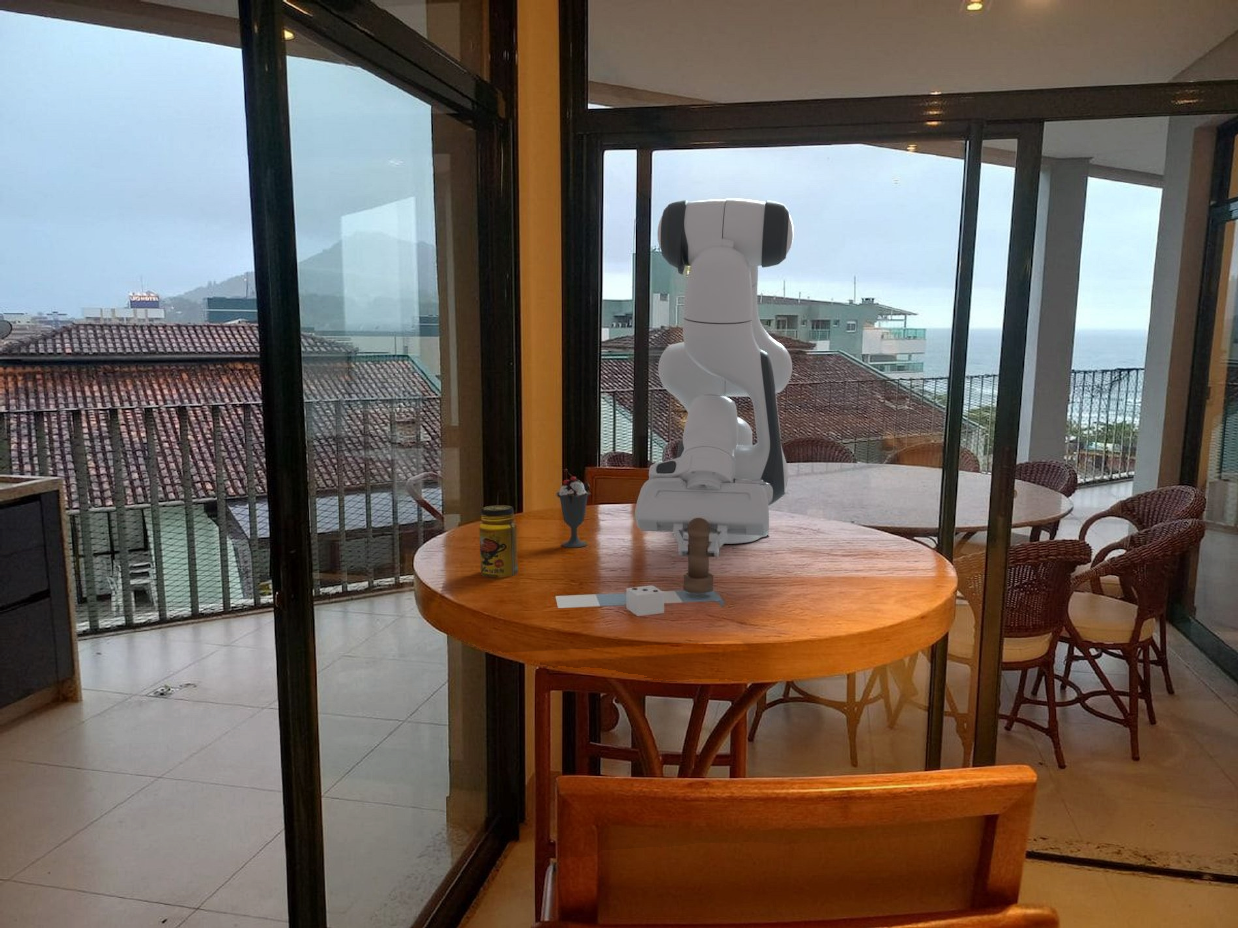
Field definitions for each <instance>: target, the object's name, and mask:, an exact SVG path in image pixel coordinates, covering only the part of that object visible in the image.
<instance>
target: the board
mask: <svg viewBox="0 0 1238 928" xmlns="http://www.w3.org/2000/svg"><path fill="white" fill-rule="evenodd" d="M662 591H663V590H662ZM663 592H664V604H675V603H676V604H677V603H678V604H679V603H701V602H702V603H703V602H717V603H718V604H719V606H721V608H723V607H724V600H723V598H722V597H721V596H720V595H719V594H718V592H716V591H715V590H714V588H713V591H711V592H707V593H691V592H687V591H685V590H684V589H683V590H682V589H681V590H666V591H663ZM555 601H556V605H557V609H569V608H570V609H572V608H573V609H574V608H592V607H593V608H594V607H595V608H596V607H613V606H614V607H615V606H617V607H618V606H626V592H621V593H619V592H618V593H598V594H597V593H595V594H592V593H591V594H576V595H575V594H573V595H572V594H571V595H555Z"/></svg>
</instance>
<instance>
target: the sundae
mask: <svg viewBox="0 0 1238 928" xmlns="http://www.w3.org/2000/svg"><path fill="white" fill-rule="evenodd" d="M563 471H564V472H565V480H563V485H562V486H561V487H560V488H559V491H557V492H556V496H557V498H559V500H560V505H561V506H560V507H561V513H562V514H561V515H562V517H563V521H564V523H565V524H566V525H567V526H568V527H570V538H569V539H568V541H565V542H562V543H561V546H562V547H564V548H568V549H569V548H571V549H576V548H578V549H579V548H584V547H586V546H588V543H587V542H585V541H582V540H580V539H579V536H578V528H579V527H580V526H581V525H582V524H583V522H584V521H585V518H586V512H587V511H586V510H587V505H588V503H587V502H588V497H589V496H590V495H591V494H592V493H591V492H590V491H589V490H590V484H589V482H588V481H585V483H583V482H582V481H581V480H580V479H577V477H576V476H572V474H571V473H569V471H568V469H567V468H565V469H564V468H563ZM567 473H568V474H567ZM568 475H569V476H570V478H569V479H568Z"/></svg>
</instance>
